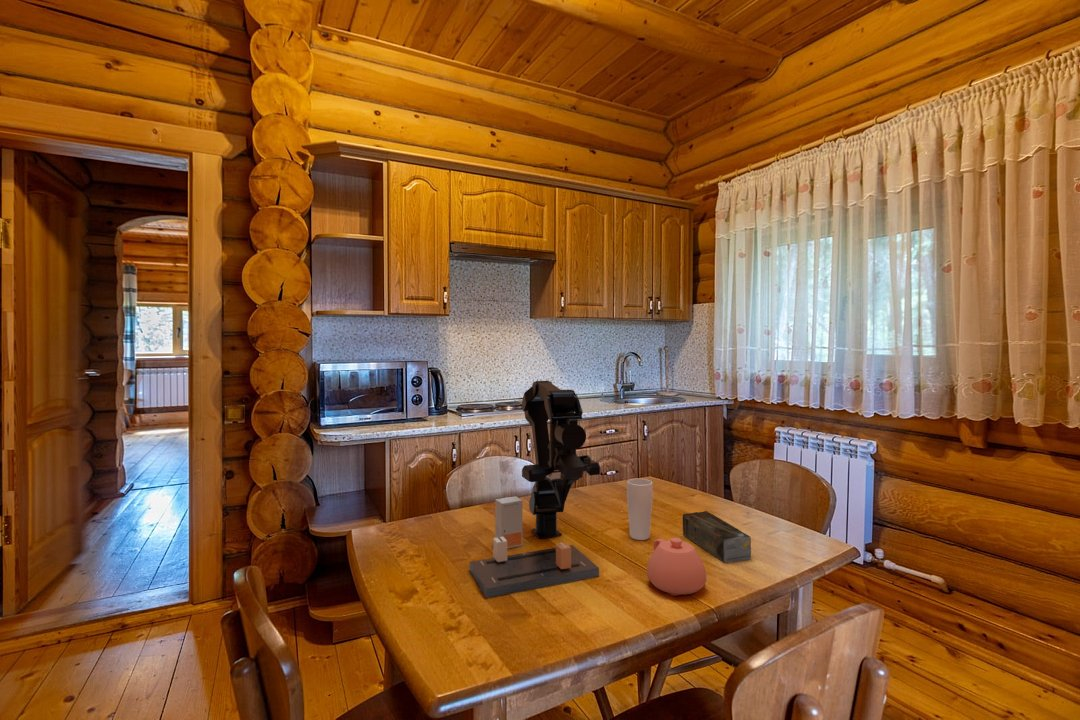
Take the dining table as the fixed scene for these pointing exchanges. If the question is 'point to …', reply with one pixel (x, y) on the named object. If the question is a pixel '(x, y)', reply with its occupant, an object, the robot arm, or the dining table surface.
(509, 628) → the dining table surface
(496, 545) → the white fader
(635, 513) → the drinking glass
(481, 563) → the console
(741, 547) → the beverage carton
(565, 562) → the orange fader
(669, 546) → the pink teapot
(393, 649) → the dining table surface
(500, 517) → the skincare box
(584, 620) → the dining table surface
